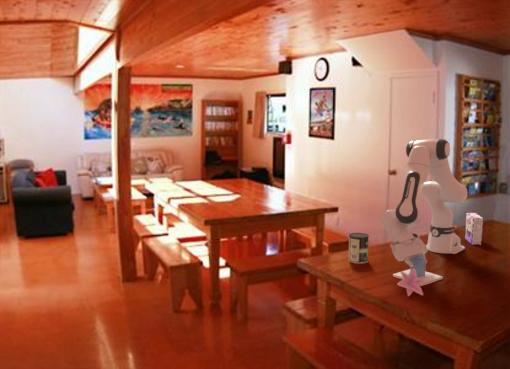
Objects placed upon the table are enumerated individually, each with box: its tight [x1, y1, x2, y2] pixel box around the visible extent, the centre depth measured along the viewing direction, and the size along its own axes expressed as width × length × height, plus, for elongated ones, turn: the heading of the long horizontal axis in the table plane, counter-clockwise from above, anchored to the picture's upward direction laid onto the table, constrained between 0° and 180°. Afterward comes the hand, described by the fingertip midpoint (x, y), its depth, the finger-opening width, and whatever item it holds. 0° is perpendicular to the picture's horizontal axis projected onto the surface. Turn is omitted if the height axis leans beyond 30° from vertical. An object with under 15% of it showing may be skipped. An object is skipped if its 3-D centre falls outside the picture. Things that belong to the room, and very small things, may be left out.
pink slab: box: [392, 268, 443, 287], centre depth 231 cm, size 16×16×7 cm
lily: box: [396, 268, 424, 297], centre depth 213 cm, size 12×12×10 cm
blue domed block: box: [409, 256, 427, 278], centre depth 231 cm, size 5×5×9 cm
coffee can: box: [348, 232, 370, 265], centre depth 257 cm, size 10×10×14 cm
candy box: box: [464, 212, 484, 246], centre depth 292 cm, size 14×6×16 cm, turn 172°
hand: (419, 264), depth 230 cm, fingers open, 8 cm apart
